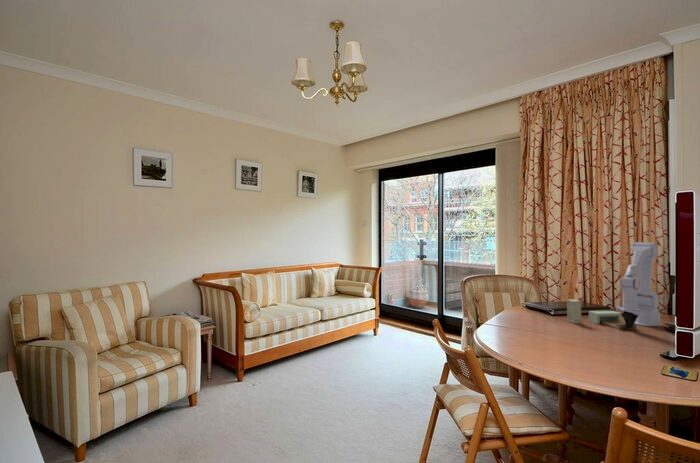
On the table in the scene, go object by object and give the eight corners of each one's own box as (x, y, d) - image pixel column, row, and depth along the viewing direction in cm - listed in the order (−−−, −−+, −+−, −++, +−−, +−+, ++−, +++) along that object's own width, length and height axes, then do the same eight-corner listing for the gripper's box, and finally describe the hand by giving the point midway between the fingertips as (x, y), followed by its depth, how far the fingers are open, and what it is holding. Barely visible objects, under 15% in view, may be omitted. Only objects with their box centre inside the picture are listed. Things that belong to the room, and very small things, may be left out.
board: (616, 323, 193) (616, 318, 193) (636, 330, 181) (636, 324, 181) (601, 324, 192) (601, 318, 192) (619, 330, 180) (619, 324, 180)
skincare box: (581, 323, 192) (581, 301, 192) (573, 323, 192) (573, 301, 192) (574, 320, 199) (574, 299, 199) (566, 320, 199) (566, 299, 199)
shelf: (612, 320, 199) (612, 310, 199) (621, 323, 193) (621, 313, 193) (588, 321, 198) (588, 311, 198) (596, 323, 192) (596, 313, 192)
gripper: (610, 297, 187) (610, 323, 187) (634, 303, 172) (634, 331, 172) (623, 297, 187) (623, 323, 187) (648, 303, 173) (648, 331, 173)
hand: (629, 327), depth 180 cm, fingers closed
